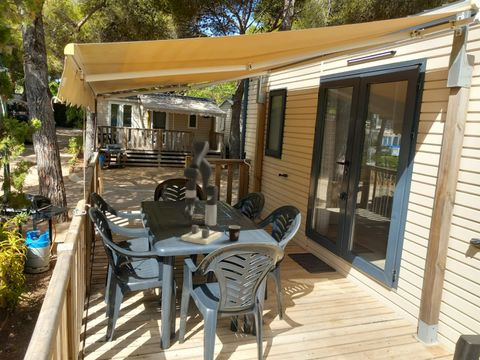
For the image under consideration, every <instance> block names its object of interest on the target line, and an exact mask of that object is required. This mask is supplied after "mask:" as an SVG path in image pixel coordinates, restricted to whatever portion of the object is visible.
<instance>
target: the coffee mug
mask: <svg viewBox="0 0 480 360" xmlns="http://www.w3.org/2000/svg"><path fill="white" fill-rule="evenodd" d="M227 231H228V234H227ZM240 233H241V226H239V225H229V226H228V229H225V231H224V235H226V236H227V237H228V239H229V242H234V243H236V242H238V241H239V238H240Z"/></svg>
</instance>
